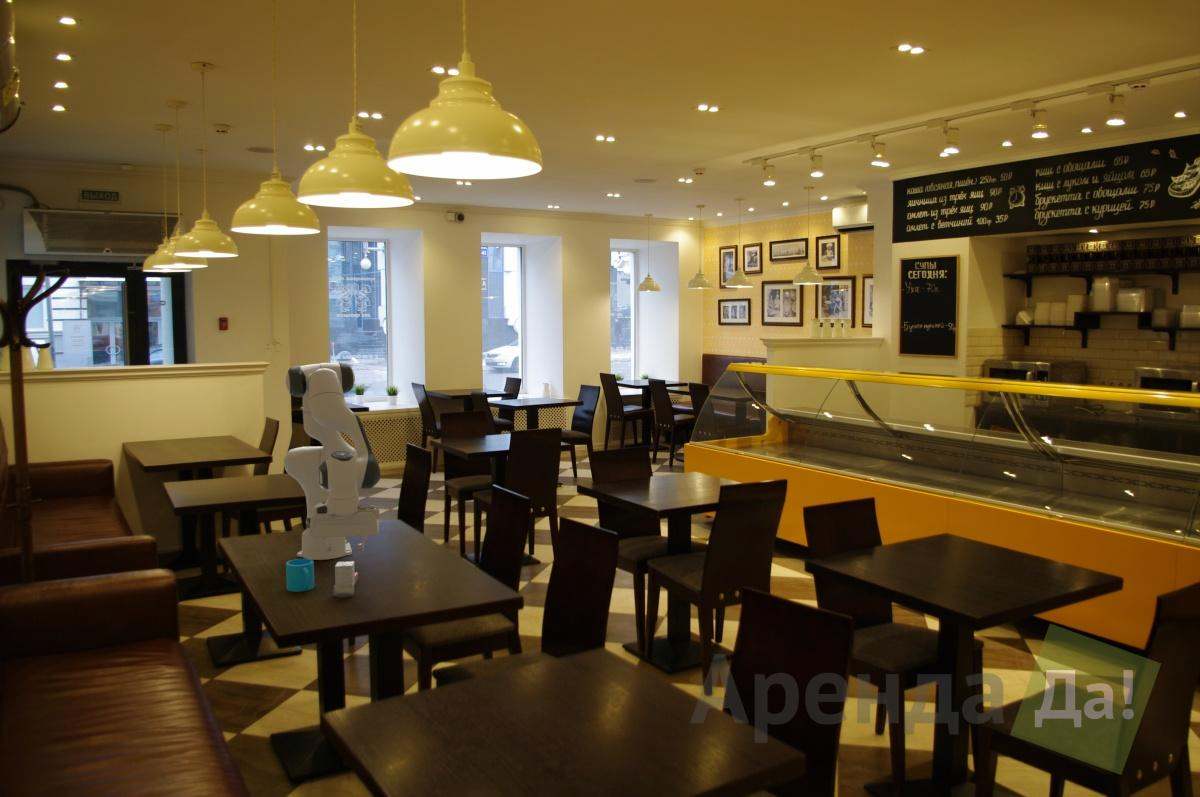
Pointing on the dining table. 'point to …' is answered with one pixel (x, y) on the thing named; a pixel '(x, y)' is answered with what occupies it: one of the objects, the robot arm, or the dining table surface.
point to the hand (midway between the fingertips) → (345, 550)
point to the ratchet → (345, 590)
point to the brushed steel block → (345, 574)
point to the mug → (300, 575)
